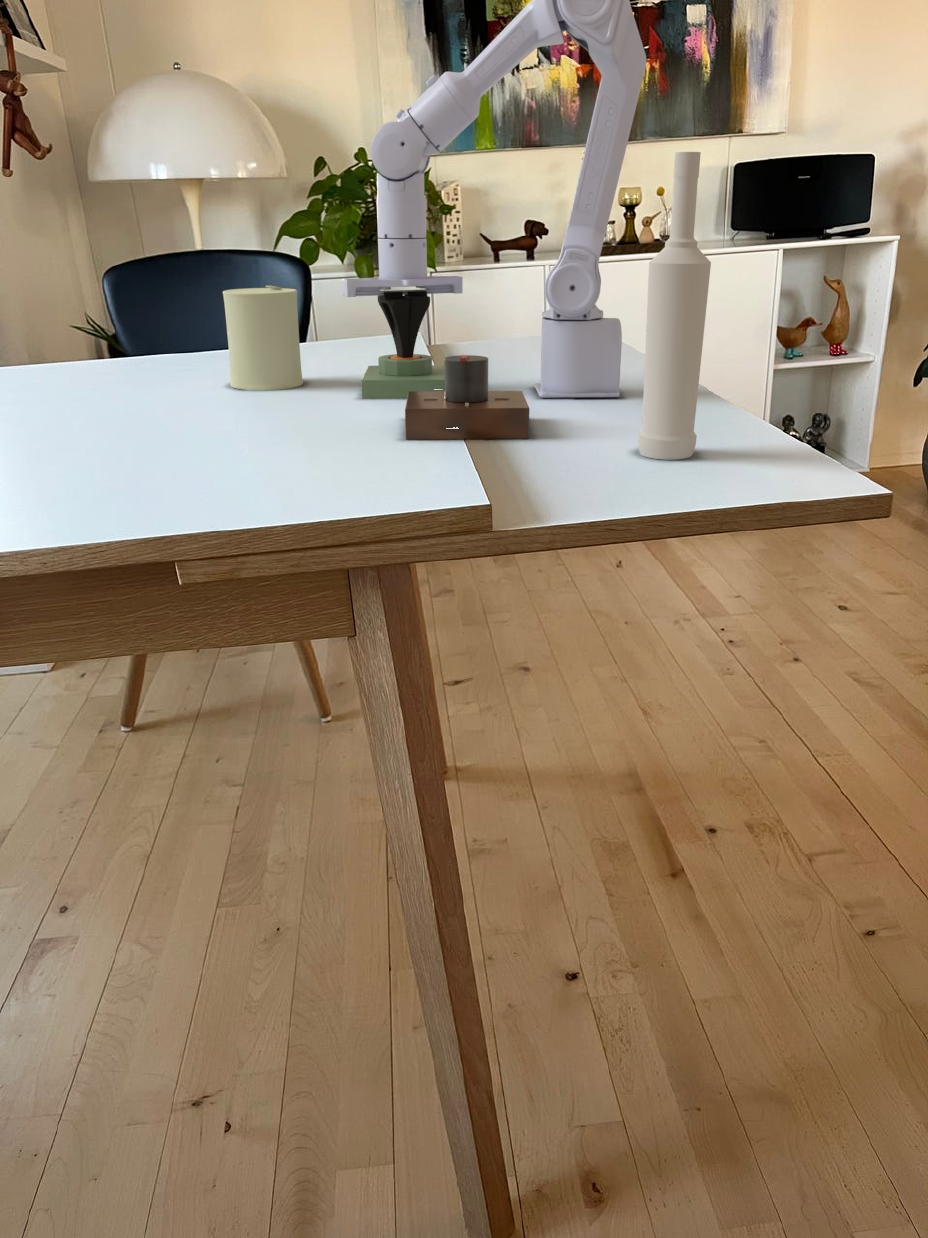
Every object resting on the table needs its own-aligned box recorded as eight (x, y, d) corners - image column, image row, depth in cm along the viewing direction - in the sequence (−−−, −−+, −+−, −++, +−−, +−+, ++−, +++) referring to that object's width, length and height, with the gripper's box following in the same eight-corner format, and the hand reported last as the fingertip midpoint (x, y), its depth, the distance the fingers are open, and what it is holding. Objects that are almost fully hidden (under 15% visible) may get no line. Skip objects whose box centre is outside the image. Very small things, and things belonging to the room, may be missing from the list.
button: (420, 368, 126) (420, 354, 125) (419, 373, 122) (419, 358, 122) (391, 369, 126) (391, 354, 125) (390, 373, 122) (389, 358, 122)
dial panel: (521, 418, 108) (522, 388, 106) (528, 438, 98) (529, 406, 97) (409, 419, 107) (408, 389, 106) (405, 439, 98) (404, 406, 97)
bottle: (683, 462, 89) (707, 149, 79) (628, 456, 91) (646, 151, 82) (703, 451, 93) (729, 152, 83) (650, 445, 95) (669, 154, 86)
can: (317, 381, 131) (311, 284, 127) (276, 392, 124) (269, 289, 119) (258, 377, 135) (251, 282, 130) (215, 387, 127) (206, 287, 123)
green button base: (446, 382, 131) (446, 350, 129) (446, 398, 119) (446, 363, 118) (369, 382, 130) (367, 351, 129) (362, 398, 119) (360, 364, 118)
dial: (448, 394, 104) (448, 351, 102) (490, 395, 103) (491, 352, 102) (441, 401, 100) (440, 357, 98) (484, 402, 99) (485, 358, 98)
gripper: (352, 239, 112) (357, 364, 117) (472, 238, 117) (472, 357, 123) (335, 238, 118) (340, 356, 124) (450, 236, 124) (450, 350, 129)
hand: (405, 356), depth 123 cm, fingers closed, pressing on button
